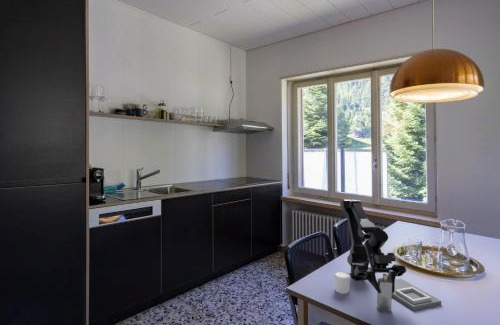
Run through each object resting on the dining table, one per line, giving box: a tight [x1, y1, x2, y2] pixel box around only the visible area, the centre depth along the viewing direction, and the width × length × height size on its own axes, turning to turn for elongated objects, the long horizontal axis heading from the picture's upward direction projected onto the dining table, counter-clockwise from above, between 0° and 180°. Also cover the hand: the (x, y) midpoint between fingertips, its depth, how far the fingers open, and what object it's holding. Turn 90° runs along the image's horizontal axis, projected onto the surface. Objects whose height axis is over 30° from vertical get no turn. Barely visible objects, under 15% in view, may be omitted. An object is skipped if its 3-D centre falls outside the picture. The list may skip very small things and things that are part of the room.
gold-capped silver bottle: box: [376, 273, 393, 314], centre depth 109 cm, size 5×5×14 cm
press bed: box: [377, 278, 442, 311], centre depth 120 cm, size 20×14×3 cm
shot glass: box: [333, 271, 352, 295], centre depth 123 cm, size 7×7×7 cm
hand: (386, 292), depth 107 cm, fingers closed on gold-capped silver bottle, 5 cm apart
